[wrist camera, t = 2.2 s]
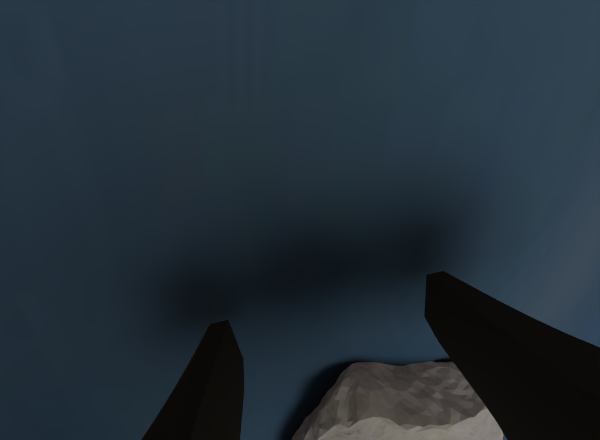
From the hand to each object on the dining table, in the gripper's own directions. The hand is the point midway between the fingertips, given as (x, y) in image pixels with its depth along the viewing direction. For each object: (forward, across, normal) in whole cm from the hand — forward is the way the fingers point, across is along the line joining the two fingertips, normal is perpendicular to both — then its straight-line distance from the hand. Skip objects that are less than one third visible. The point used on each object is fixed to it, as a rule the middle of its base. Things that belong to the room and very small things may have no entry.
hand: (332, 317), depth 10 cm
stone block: (+2, -1, +11) cm, 12 cm away
